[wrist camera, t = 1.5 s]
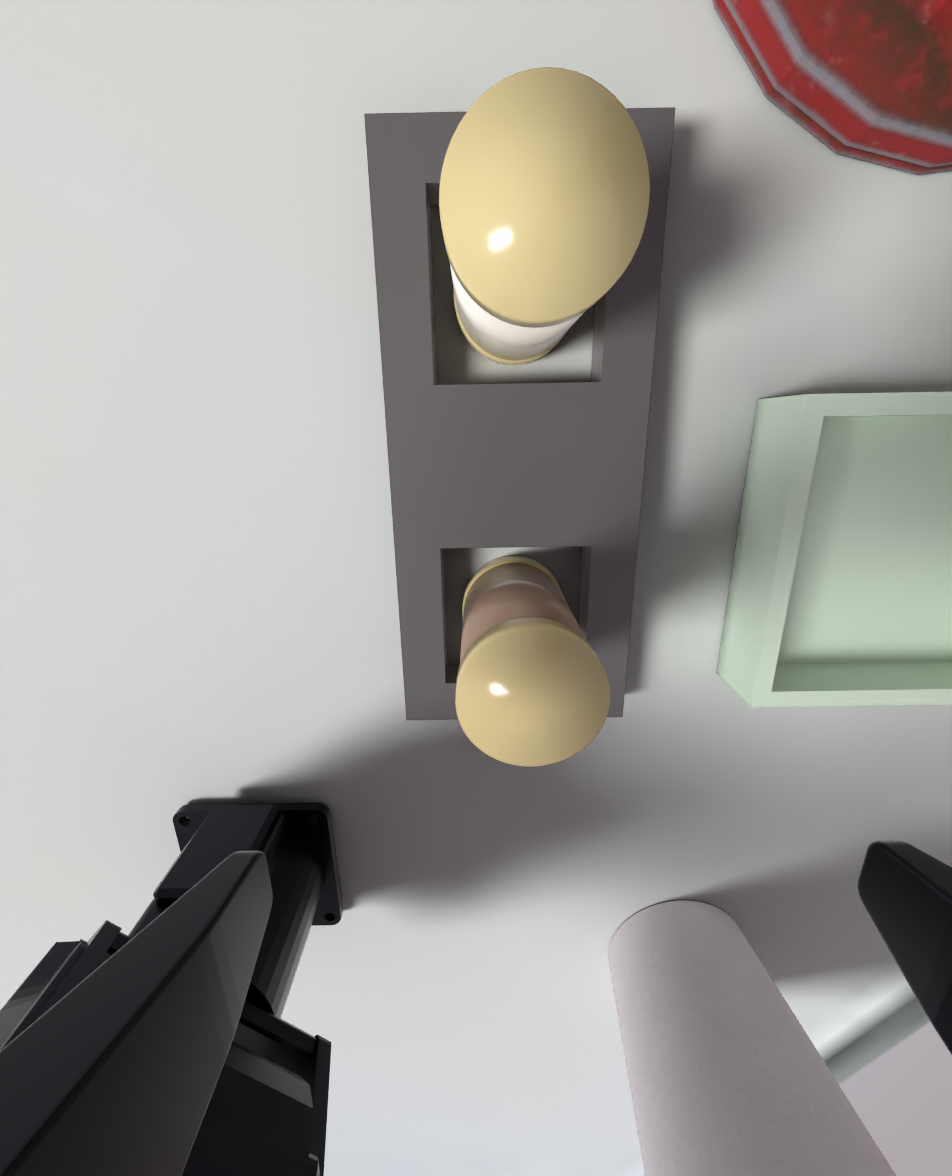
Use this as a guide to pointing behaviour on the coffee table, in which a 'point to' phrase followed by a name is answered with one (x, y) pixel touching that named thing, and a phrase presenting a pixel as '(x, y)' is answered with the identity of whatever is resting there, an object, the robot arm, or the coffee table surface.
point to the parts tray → (844, 554)
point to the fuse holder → (507, 420)
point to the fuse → (539, 209)
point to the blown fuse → (526, 667)
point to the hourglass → (855, 73)
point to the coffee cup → (724, 1057)
